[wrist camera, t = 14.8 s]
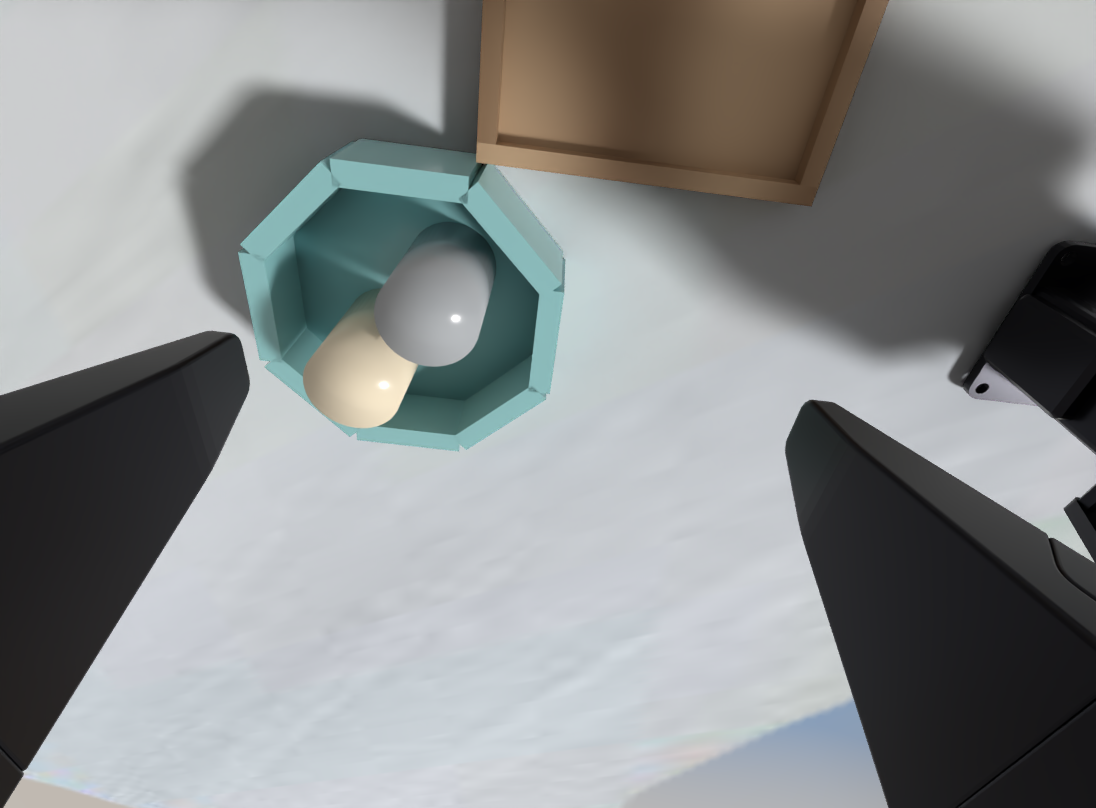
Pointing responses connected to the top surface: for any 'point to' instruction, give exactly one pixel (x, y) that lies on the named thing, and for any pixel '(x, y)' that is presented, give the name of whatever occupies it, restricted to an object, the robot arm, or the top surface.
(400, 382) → the sand beige cylinder
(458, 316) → the grey rounded cylinder
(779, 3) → the parts tray
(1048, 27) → the top surface
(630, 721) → the top surface
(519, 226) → the bowl
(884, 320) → the top surface
